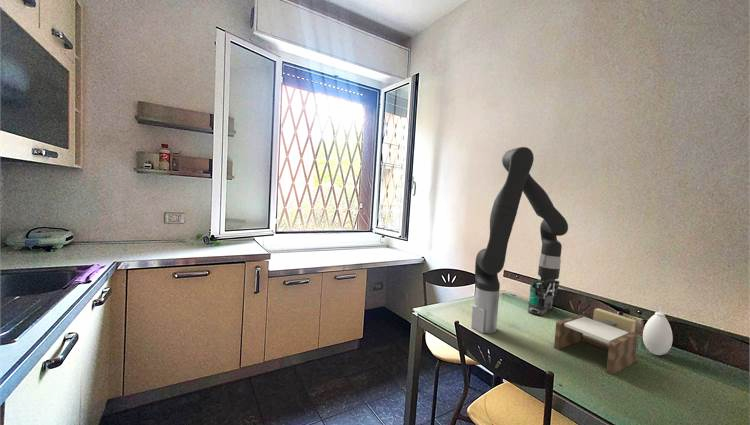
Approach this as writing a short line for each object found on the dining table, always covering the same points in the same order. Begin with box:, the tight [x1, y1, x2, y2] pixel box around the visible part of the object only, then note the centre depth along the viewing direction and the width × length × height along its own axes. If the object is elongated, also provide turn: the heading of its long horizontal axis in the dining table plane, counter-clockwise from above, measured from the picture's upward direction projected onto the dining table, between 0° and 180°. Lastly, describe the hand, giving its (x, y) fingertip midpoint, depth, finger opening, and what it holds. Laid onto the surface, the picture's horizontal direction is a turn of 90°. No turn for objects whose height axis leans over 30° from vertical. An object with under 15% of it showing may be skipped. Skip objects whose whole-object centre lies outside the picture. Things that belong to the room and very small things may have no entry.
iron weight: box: [541, 294, 554, 310], centre depth 122 cm, size 5×5×5 cm
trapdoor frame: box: [553, 313, 639, 376], centre depth 105 cm, size 19×18×10 cm
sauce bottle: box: [642, 305, 674, 356], centre depth 107 cm, size 8×8×18 cm
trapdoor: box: [564, 308, 637, 345], centre depth 106 cm, size 22×14×6 cm, turn 119°
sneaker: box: [527, 280, 551, 317], centre depth 147 cm, size 9×24×15 cm, turn 138°
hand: (544, 305), depth 122 cm, fingers closed on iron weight, 5 cm apart
